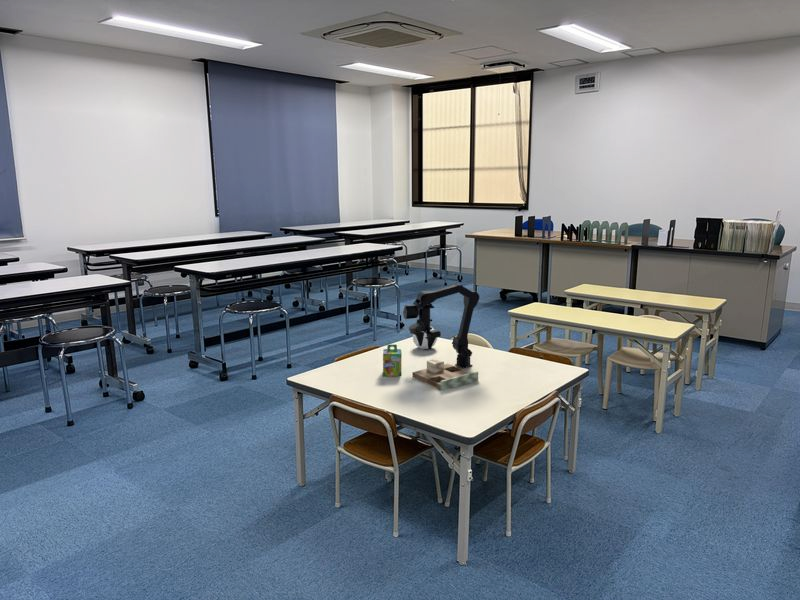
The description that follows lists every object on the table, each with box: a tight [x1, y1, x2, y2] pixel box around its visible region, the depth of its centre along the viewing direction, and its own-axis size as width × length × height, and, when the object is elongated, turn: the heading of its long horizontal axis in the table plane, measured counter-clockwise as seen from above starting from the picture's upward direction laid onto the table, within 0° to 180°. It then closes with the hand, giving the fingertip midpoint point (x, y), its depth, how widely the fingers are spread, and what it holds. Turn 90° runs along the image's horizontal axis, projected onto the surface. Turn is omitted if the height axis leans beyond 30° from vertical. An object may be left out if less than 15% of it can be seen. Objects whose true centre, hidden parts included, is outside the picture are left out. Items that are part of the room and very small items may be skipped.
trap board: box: [412, 363, 479, 392], centre depth 275 cm, size 22×23×4 cm
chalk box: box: [382, 343, 403, 378], centre depth 283 cm, size 9×9×15 cm
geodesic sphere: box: [412, 325, 438, 350], centre depth 325 cm, size 15×14×14 cm
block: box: [426, 358, 445, 373], centre depth 281 cm, size 6×6×4 cm
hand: (424, 347), depth 286 cm, fingers open, 7 cm apart
